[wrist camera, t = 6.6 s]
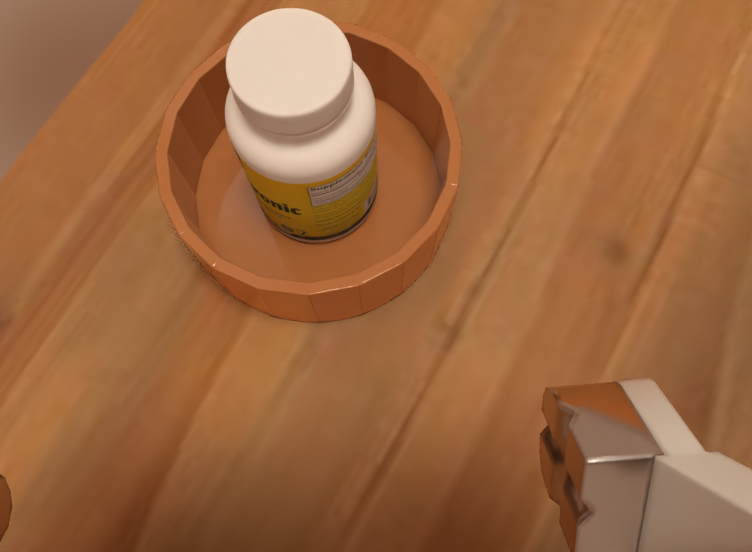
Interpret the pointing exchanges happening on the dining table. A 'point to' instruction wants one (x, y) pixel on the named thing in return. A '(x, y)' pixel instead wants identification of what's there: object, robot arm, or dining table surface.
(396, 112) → the round wooden tray
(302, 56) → the supplement bottle
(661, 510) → the robot arm
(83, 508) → the dining table surface
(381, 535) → the dining table surface
